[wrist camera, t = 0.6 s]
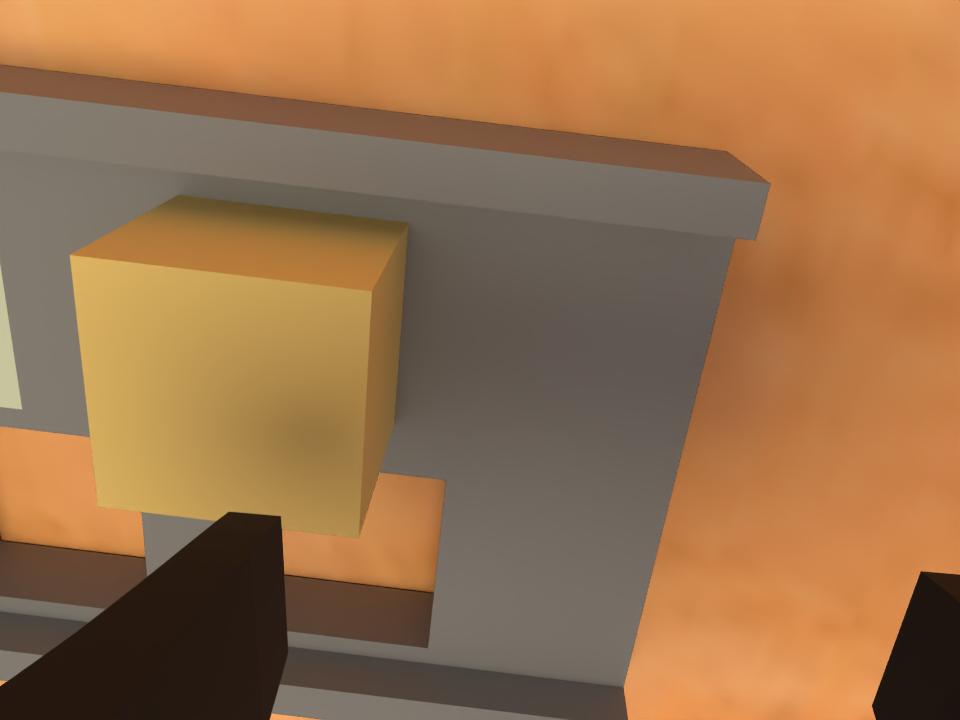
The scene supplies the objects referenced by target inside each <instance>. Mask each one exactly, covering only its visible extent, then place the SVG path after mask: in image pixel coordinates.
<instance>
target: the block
mask: <svg viewBox="0 0 960 720" xmlns="http://www.w3.org/2000/svg"><path fill="white" fill-rule="evenodd" d="M408 224H409V223H408V222H399V221H391V220H383V219H374V218H366V217H358V216H349V215H341V214H333V213H324V212H316V211H308V210H299V209H291V208H283V207H274V206H266V205H258V204H249V203H241V202H233V201H224V200H216V199H208V198H199V197H191V196H183V195H177V196H175V197H173V198H172V199H170V200H168V201H166V202H164V203H163V204H161V205H159V206H157V207H155V208H154V209H152V210H150V211H148V212H146V213H145V214H143V215H141V216H139V217H137V218H136V219H134V220H132V221H130V222H128V223H127V224H125V225H123V226H121V227H119V228H118V229H116V230H114V231H112V232H110V233H108V234H107V235H105V236H103V237H101V238H99V239H98V240H96V241H94V242H92V243H90V244H89V245H87V246H85V247H83V248H81V249H80V250H78V251H76V252H74V253H72V254H71V255H70V262H71V271H72V280H73V289H74V298H75V307H76V315H77V324H78V333H79V342H80V351H81V360H82V369H83V378H84V387H85V395H86V404H87V413H88V422H89V431H90V440H91V449H92V458H93V467H94V476H95V484H96V493H97V502H98V507H104V508H112V509H121V510H129V511H137V512H145V513H154V514H162V515H170V516H178V517H187V518H195V519H203V520H211V521H217V520H218V519H220V518H221V517H222V516H224V515H225V514H226V513H227V512H240V513H251V514H263V515H275V516H281V524H282V529H285V530H294V531H302V532H310V533H318V534H326V535H335V536H343V537H351V538H359V535H360V532H361V529H362V526H363V523H364V519H365V516H366V513H367V510H368V507H369V503H370V500H371V497H372V494H373V491H374V487H375V484H376V481H377V478H378V475H379V471H380V468H381V465H382V462H383V459H384V455H385V452H386V449H387V446H388V443H389V439H390V436H391V433H392V430H393V427H394V419H395V405H396V391H397V377H398V363H399V349H400V335H401V321H402V307H403V293H404V279H405V265H406V251H407V237H408Z"/></svg>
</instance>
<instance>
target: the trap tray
mask: <svg viewBox="0 0 960 720" xmlns="http://www.w3.org/2000/svg"><path fill="white" fill-rule="evenodd" d="M769 188H770V183H769V182H767V181H766V180H765V179H763V178H762V177H761V176H759V175H758V174H757V173H755V172H754V171H753V170H751V169H750V168H749V167H747V166H746V165H745V164H743V163H742V162H741V161H739V160H738V159H737V158H735V157H734V156H732V155H731V154H730V153H728V152H727V151H718V150H710V149H702V148H693V147H685V146H677V145H668V144H660V143H651V142H643V141H635V140H626V139H618V138H609V137H601V136H593V135H584V134H576V133H568V132H559V131H551V130H542V129H534V128H526V127H517V126H509V125H501V124H492V123H484V122H475V121H467V120H459V119H450V118H442V117H434V116H425V115H417V114H408V113H400V112H392V111H383V110H375V109H367V108H358V107H350V106H341V105H333V104H325V103H316V102H308V101H299V100H291V99H283V98H274V97H266V96H258V95H249V94H241V93H232V92H224V91H216V90H207V89H199V88H191V87H182V86H174V85H165V84H157V83H149V82H140V81H132V80H124V79H115V78H107V77H98V76H90V75H82V74H73V73H65V72H57V71H48V70H40V69H31V68H23V67H15V66H6V65H0V426H3V427H12V428H20V429H28V430H36V431H45V432H53V433H61V434H69V435H78V436H86V437H90V431H89V422H88V413H87V404H86V395H85V387H84V378H83V369H82V360H81V351H80V342H79V333H78V324H77V315H76V307H75V298H74V289H73V280H72V271H71V262H70V255H71V254H72V253H74V252H76V251H78V250H80V249H81V248H83V247H85V246H87V245H89V244H90V243H92V242H94V241H96V240H98V239H99V238H101V237H103V236H105V235H107V234H108V233H110V232H112V231H114V230H116V229H118V228H119V227H121V226H123V225H125V224H127V223H128V222H130V221H132V220H134V219H136V218H137V217H139V216H141V215H143V214H145V213H146V212H148V211H150V210H152V209H154V208H155V207H157V206H159V205H161V204H163V203H164V202H166V201H168V200H170V199H172V198H173V197H175V196H177V195H183V196H191V197H199V198H208V199H216V200H224V201H233V202H241V203H249V204H258V205H266V206H274V207H283V208H291V209H299V210H308V211H316V212H324V213H333V214H341V215H349V216H358V217H366V218H374V219H383V220H391V221H399V222H408V223H409V224H408V237H407V251H406V265H405V279H404V293H403V307H402V321H401V335H400V349H399V363H398V377H397V391H396V405H395V419H394V427H393V430H392V433H391V436H390V439H389V443H388V446H387V449H386V452H385V455H384V459H383V462H382V465H381V468H380V471H379V472H383V473H391V474H400V475H408V476H416V477H424V478H433V479H441V480H446V486H445V495H444V504H443V514H442V523H441V533H440V542H439V551H438V561H437V570H436V580H435V589H434V594H433V593H425V592H417V591H408V590H400V589H392V588H384V587H375V586H367V585H359V584H351V583H343V582H334V581H326V580H318V579H310V578H301V577H293V576H285V575H284V579H285V598H286V617H287V635H288V656H287V659H286V663H285V667H284V670H283V674H282V678H281V681H280V685H279V688H278V692H277V696H276V699H275V703H274V706H273V710H272V713H273V714H281V715H289V716H297V717H305V718H314V719H322V720H628V716H627V709H626V702H625V695H624V688H623V687H624V683H625V679H626V675H627V671H628V667H629V663H630V659H631V655H632V651H633V647H634V643H635V639H636V635H637V631H638V627H639V623H640V619H641V615H642V611H643V607H644V603H645V599H646V595H647V591H648V587H649V583H650V579H651V575H652V571H653V567H654V563H655V559H656V555H657V551H658V547H659V542H660V538H661V534H662V530H663V526H664V522H665V518H666V514H667V510H668V506H669V502H670V498H671V494H672V490H673V486H674V482H675V478H676V474H677V470H678V466H679V462H680V458H681V454H682V450H683V446H684V442H685V438H686V434H687V430H688V426H689V422H690V418H691V414H692V410H693V406H694V402H695V398H696V394H697V390H698V386H699V382H700V378H701V374H702V370H703V366H704V362H705V358H706V354H707V350H708V346H709V342H710V338H711V334H712V330H713V326H714V322H715V318H716V314H717V310H718V306H719V302H720V298H721V294H722V290H723V286H724V282H725V278H726V274H727V270H728V266H729V262H730V258H731V254H732V250H733V246H734V242H735V238H738V239H746V240H755V241H756V238H757V234H758V230H759V226H760V223H761V219H762V215H763V211H764V207H765V203H766V200H767V196H768V192H769ZM142 522H143V533H144V545H145V557H146V559H145V558H137V557H129V556H121V555H113V554H104V553H96V552H88V551H80V550H71V549H63V548H55V547H47V546H39V545H30V544H22V543H14V542H6V541H1V540H0V680H3V681H8V680H10V679H11V678H13V677H14V676H15V675H17V674H18V673H20V672H21V671H22V670H24V669H25V668H27V667H28V666H29V665H31V664H32V663H34V662H35V661H36V660H38V659H39V658H41V657H42V656H43V655H45V654H46V653H48V652H49V651H50V650H52V649H53V648H55V647H56V646H57V645H59V644H60V643H62V642H63V641H64V640H66V639H67V638H69V637H70V636H71V635H73V634H74V633H76V632H77V631H78V630H79V629H81V628H82V627H83V626H85V625H86V624H87V623H88V622H90V621H91V620H92V619H94V618H95V617H96V616H97V615H99V614H100V613H101V612H103V611H104V610H105V609H107V608H108V607H109V606H110V605H112V604H113V603H114V602H116V601H117V600H118V599H119V598H121V597H122V596H123V595H125V594H126V593H127V592H128V591H130V590H131V589H132V588H134V587H135V586H136V585H137V584H139V583H140V582H141V581H142V580H144V579H145V578H146V577H147V576H149V575H150V574H151V573H152V572H153V571H155V570H156V569H157V568H158V567H160V566H161V565H162V564H163V563H165V562H166V561H167V560H168V559H170V558H171V557H172V556H173V555H175V554H176V553H177V552H178V551H180V550H181V549H182V548H183V547H184V546H186V545H187V544H188V543H189V542H191V541H192V540H193V539H194V538H196V537H197V536H198V535H199V534H201V533H202V532H203V531H204V530H206V529H207V528H208V527H210V526H211V525H212V524H213V523H215V522H216V521H211V520H203V519H195V518H187V517H178V516H170V515H162V514H154V513H145V512H142Z"/></svg>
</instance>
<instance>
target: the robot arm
mask: <svg viewBox="0 0 960 720" xmlns="http://www.w3.org/2000/svg"><path fill="white" fill-rule="evenodd" d="M287 656H288V635H287V617H286V598H285V579H284V561H283V542H282V524H281V516H275V515H263V514H251V513H240V512H227V513H226V514H225V515H224V516H222V517H221V518H220V519H218V520H217V521H216V522H215V523H213V524H212V525H211V526H210V527H208V528H207V529H206V530H204V531H203V532H202V533H201V534H199V535H198V536H197V537H196V538H194V539H193V540H192V541H191V542H189V543H188V544H187V545H186V546H184V547H183V548H182V549H181V550H180V551H178V552H177V553H176V554H175V555H173V556H172V557H171V558H170V559H168V560H167V561H166V562H165V563H163V564H162V565H161V566H160V567H158V568H157V569H156V570H155V571H153V572H152V573H151V574H150V575H149V576H147V577H146V578H145V579H144V580H142V581H141V582H140V583H139V584H137V585H136V586H135V587H134V588H132V589H131V590H130V591H128V592H127V593H126V594H125V595H123V596H122V597H121V598H119V599H118V600H117V601H116V602H114V603H113V604H112V605H110V606H109V607H108V608H107V609H105V610H104V611H103V612H101V613H100V614H99V615H97V616H96V617H95V618H94V619H92V620H91V621H90V622H88V623H87V624H86V625H85V626H83V627H82V628H81V629H79V630H78V631H77V632H76V633H74V634H73V635H71V636H70V637H69V638H67V639H66V640H64V641H63V642H62V643H60V644H59V645H57V646H56V647H55V648H53V649H52V650H50V651H49V652H48V653H46V654H45V655H43V656H42V657H41V658H39V659H38V660H36V661H35V662H34V663H32V664H31V665H29V666H28V667H27V668H25V669H24V670H22V671H21V672H20V673H18V674H17V675H15V676H14V677H13V678H11V679H10V680H8V681H7V682H6V683H4V684H3V685H1V686H0V720H270V716H271V713H272V710H273V706H274V703H275V699H276V696H277V692H278V688H279V685H280V681H281V678H282V674H283V670H284V667H285V663H286V659H287ZM872 708H873V711H874V714H875V718H876V720H960V575H956V574H945V573H933V572H922V571H921V573H920V575H919V578H918V581H917V584H916V586H915V589H914V592H913V595H912V597H911V600H910V603H909V606H908V608H907V611H906V614H905V617H904V619H903V622H902V625H901V628H900V630H899V633H898V636H897V639H896V641H895V644H894V647H893V650H892V652H891V655H890V658H889V661H888V663H887V666H886V669H885V672H884V674H883V677H882V680H881V683H880V685H879V688H878V691H877V694H876V696H875V699H874V702H873V704H872Z"/></svg>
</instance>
